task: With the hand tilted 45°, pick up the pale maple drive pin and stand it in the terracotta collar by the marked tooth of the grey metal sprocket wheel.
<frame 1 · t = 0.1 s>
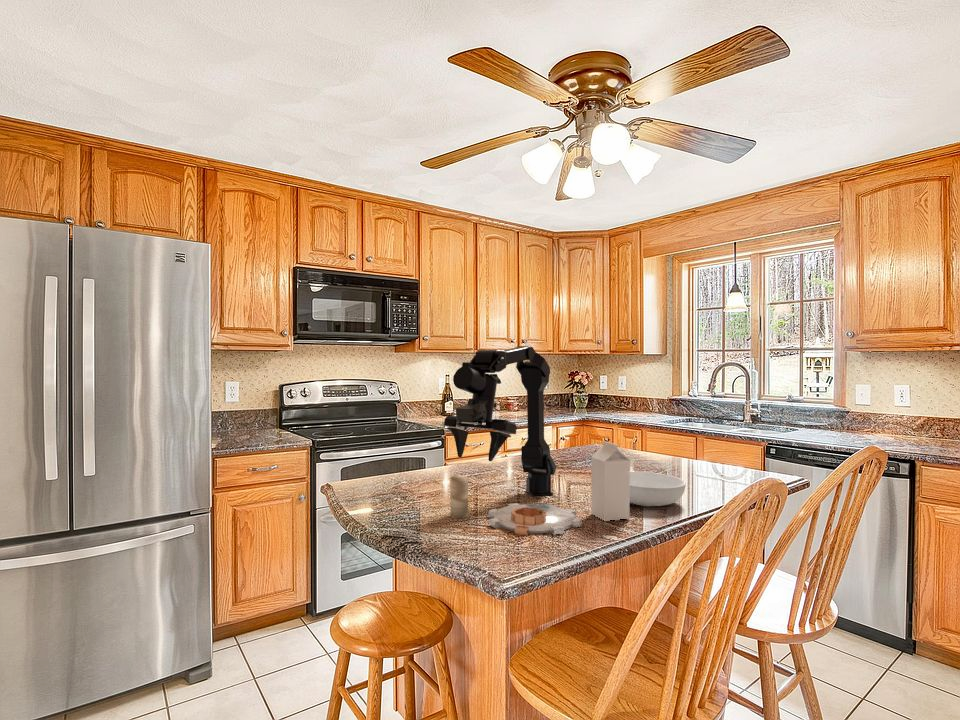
hand: (474, 459, 135), 15 cm above the countertop, tool pointing down, fingers open, 9 cm apart
drive pin: (459, 516, 140), on the countertop
serving bowl: (646, 503, 154), on the countertop
sprocket wheel: (534, 520, 136), on the countertop
milk carton: (610, 517, 139), on the countertop
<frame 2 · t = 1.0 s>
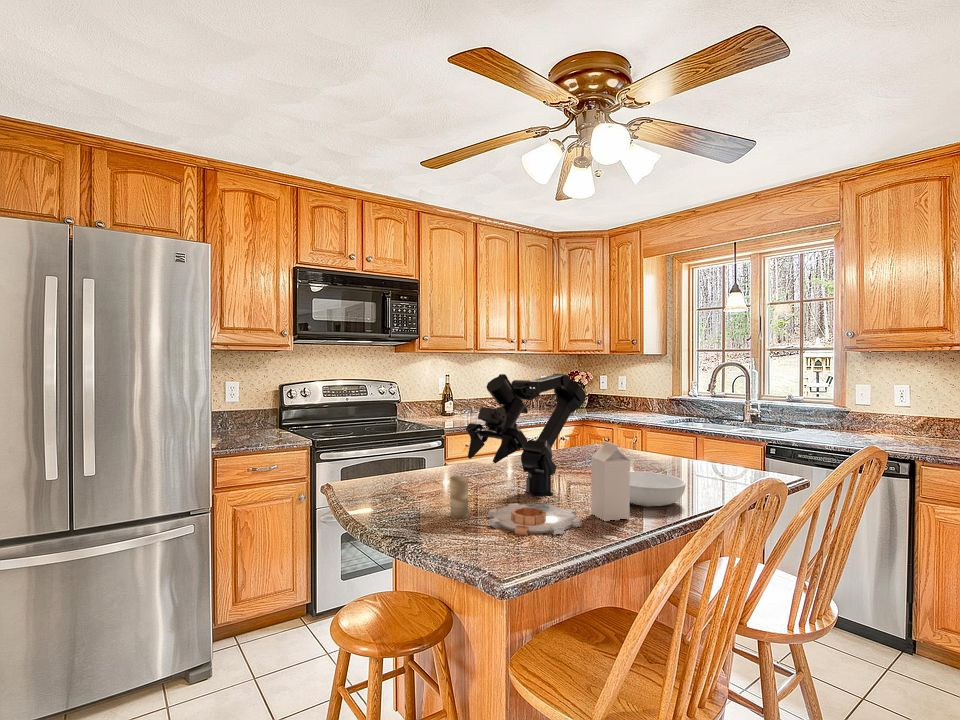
hand: (481, 460, 145), 13 cm above the countertop, tool tilted 45°, fingers open, 9 cm apart
nothing on the countertop moved.
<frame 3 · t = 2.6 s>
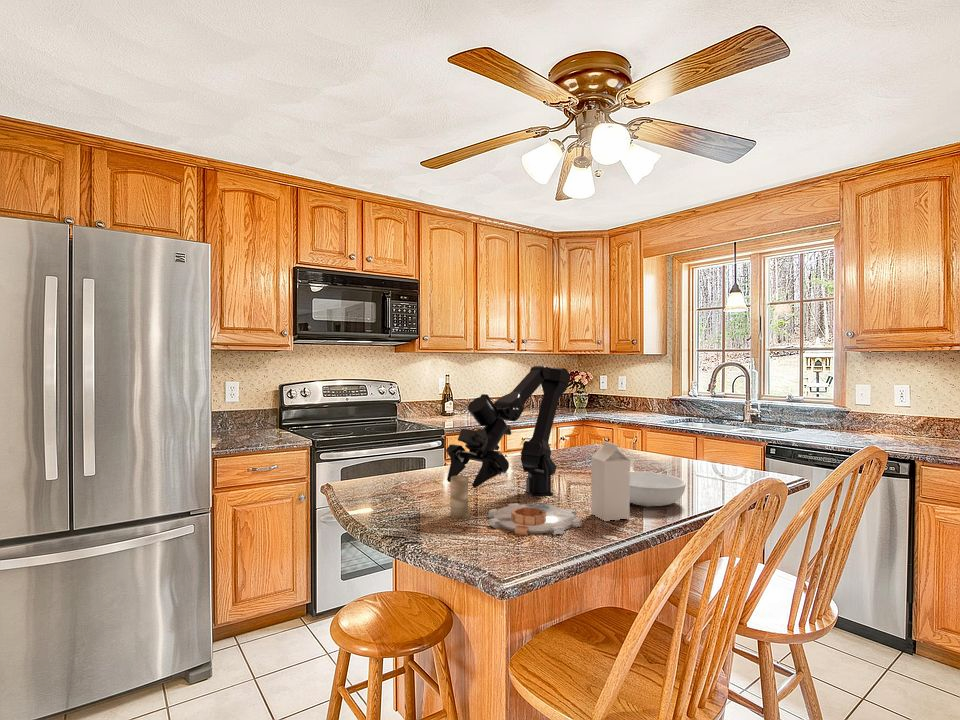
hand: (460, 483, 140), 8 cm above the countertop, tool tilted 45°, fingers open, 9 cm apart
nothing on the countertop moved.
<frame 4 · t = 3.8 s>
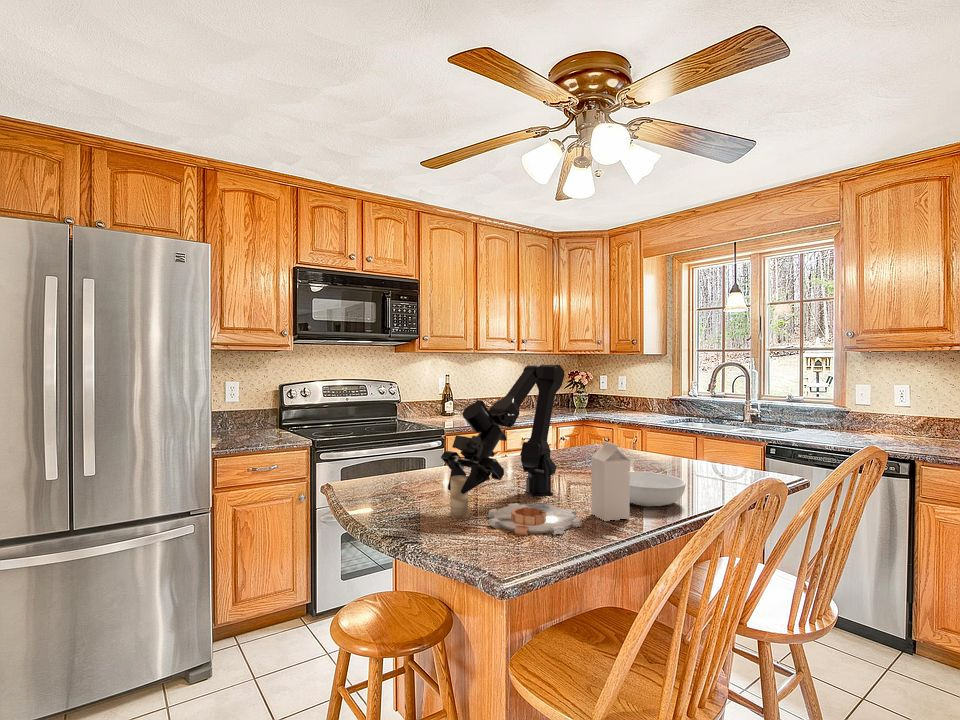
hand: (455, 491, 139), 7 cm above the countertop, tool tilted 45°, fingers closed on drive pin, 4 cm apart
drive pin: (459, 516, 140), on the countertop, touching gripper
everything else where it was.
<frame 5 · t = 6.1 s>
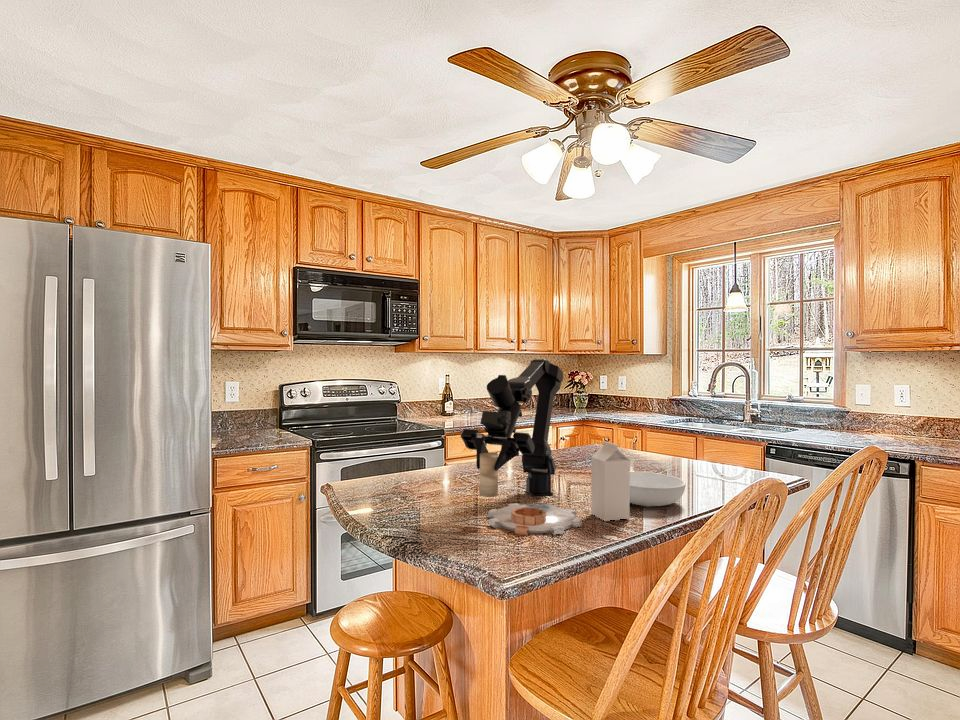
hand: (486, 468, 133), 13 cm above the countertop, tool tilted 45°, fingers closed on drive pin, 4 cm apart
drive pin: (488, 494, 134), point 7 cm above the countertop, touching gripper
everything else where it was.
when the fingers open (9 cm above the countertop, at t = 8.4 s): drive pin stays where it is, resting on sprocket wheel.
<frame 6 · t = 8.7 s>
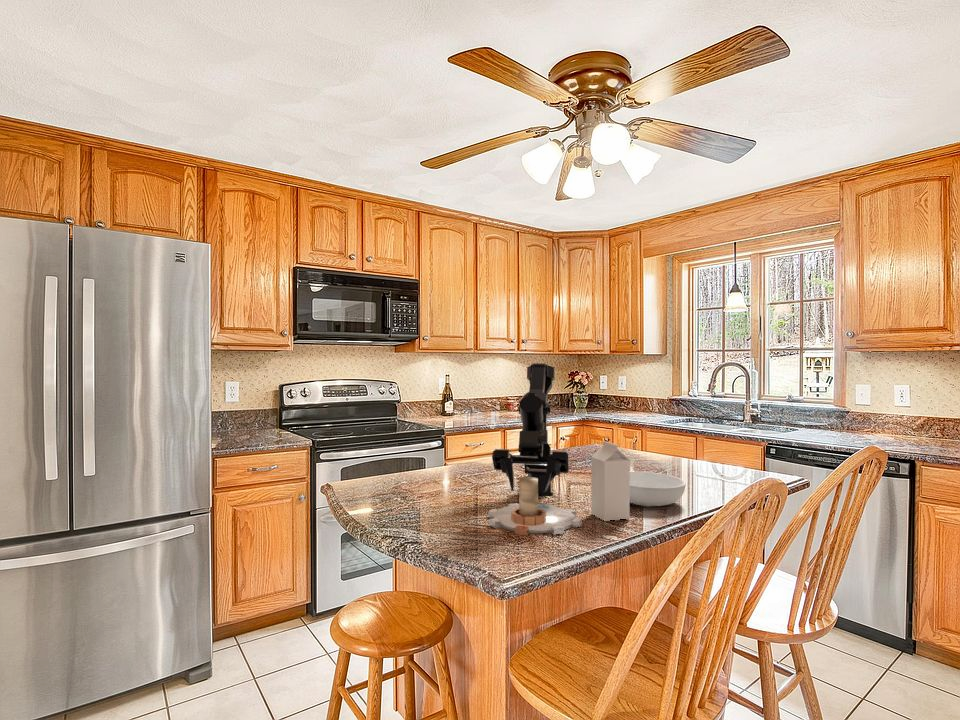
hand: (528, 490, 130), 9 cm above the countertop, tool tilted 45°, fingers open, 7 cm apart
drive pin: (528, 520, 131), point 2 cm above the countertop, touching sprocket wheel
everything else where it was.
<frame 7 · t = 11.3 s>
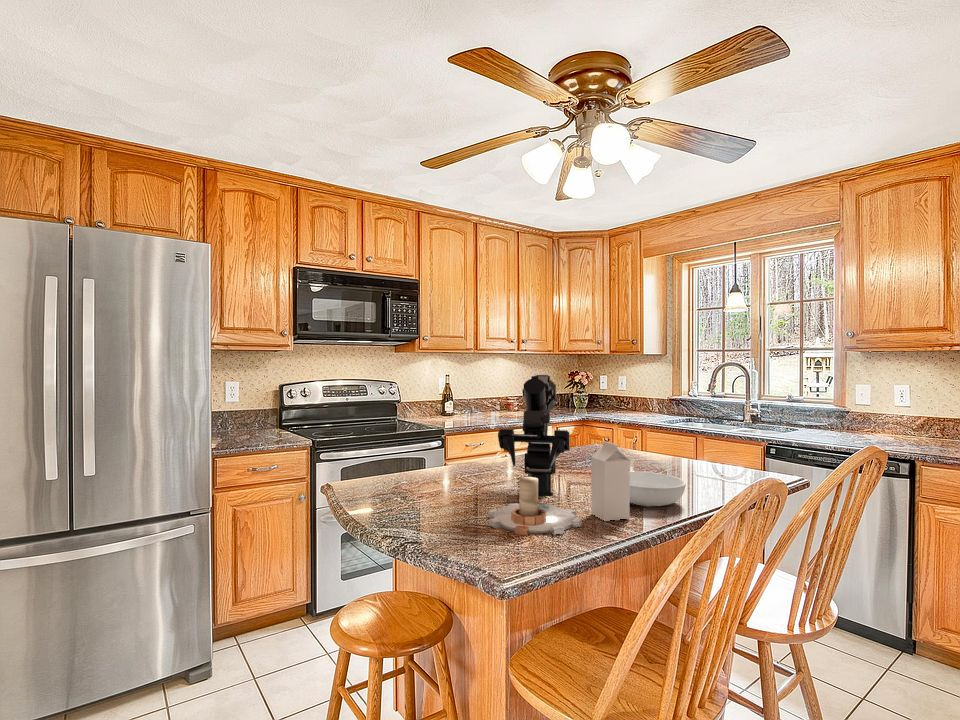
hand: (531, 466, 139), 13 cm above the countertop, tool tilted 45°, fingers open, 9 cm apart
nothing on the countertop moved.
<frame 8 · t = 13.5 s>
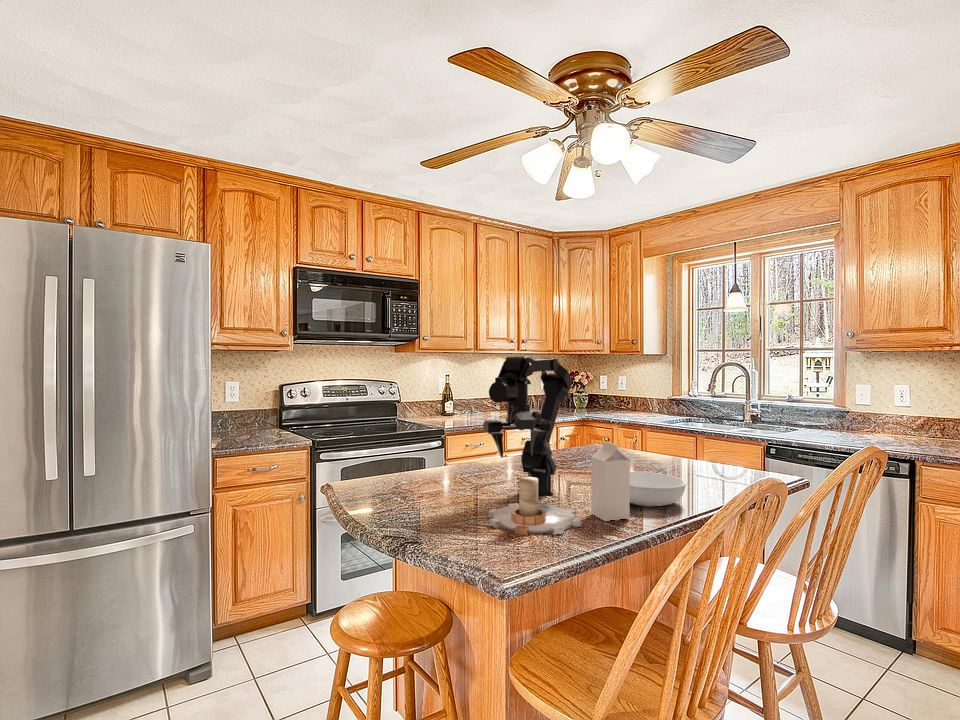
hand: (517, 456, 154), 13 cm above the countertop, tool pointing down, fingers open, 9 cm apart
nothing on the countertop moved.
at the end: drive pin 0.0 cm from the target spot on the sprocket wheel, point 1.5 cm above the sprocket wheel's base; drive pin tilted 0°; the gripper is holding nothing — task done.
